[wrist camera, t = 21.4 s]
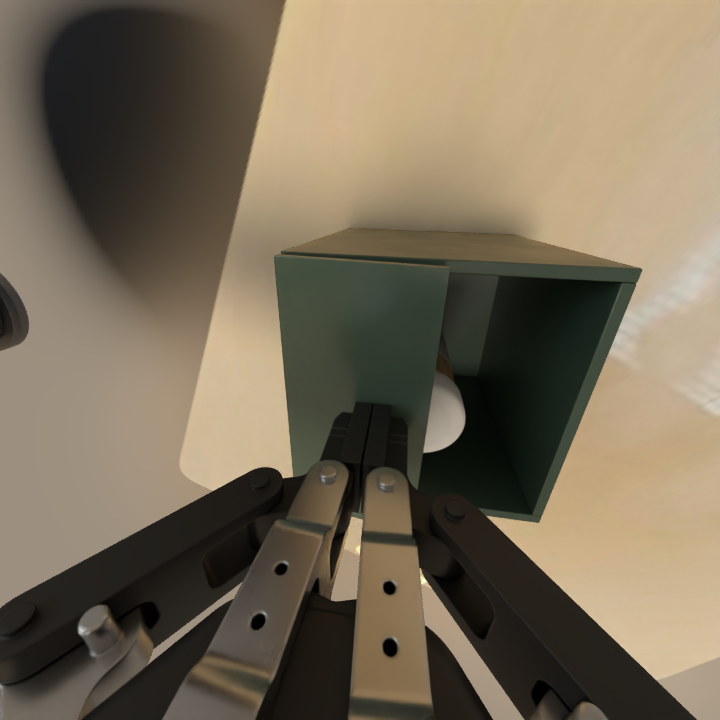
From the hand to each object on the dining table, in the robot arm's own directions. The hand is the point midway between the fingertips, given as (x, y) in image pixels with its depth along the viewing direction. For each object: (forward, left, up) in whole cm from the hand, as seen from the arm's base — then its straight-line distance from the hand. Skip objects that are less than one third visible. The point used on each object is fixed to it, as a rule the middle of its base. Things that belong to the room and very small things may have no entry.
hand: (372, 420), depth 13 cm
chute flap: (-1, -1, -1) cm, 1 cm away
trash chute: (+2, +1, -17) cm, 17 cm away
